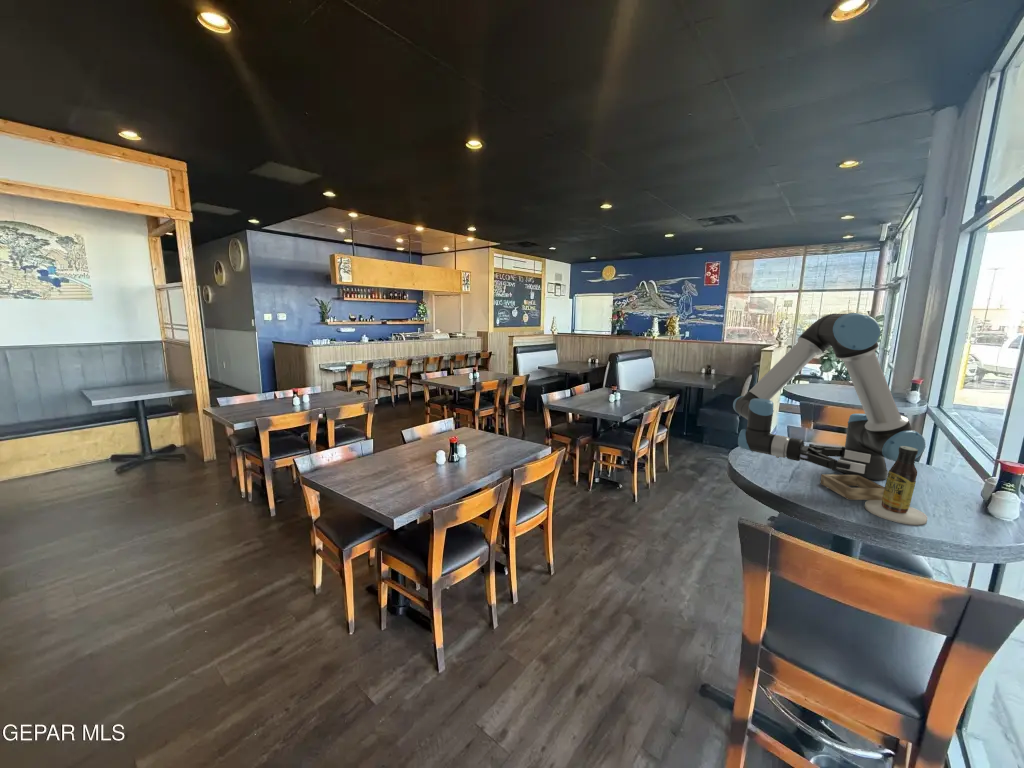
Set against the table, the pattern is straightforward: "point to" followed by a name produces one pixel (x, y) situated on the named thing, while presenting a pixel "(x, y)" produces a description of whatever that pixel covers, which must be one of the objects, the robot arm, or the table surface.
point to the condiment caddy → (842, 483)
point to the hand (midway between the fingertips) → (867, 463)
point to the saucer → (896, 514)
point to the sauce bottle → (901, 481)
